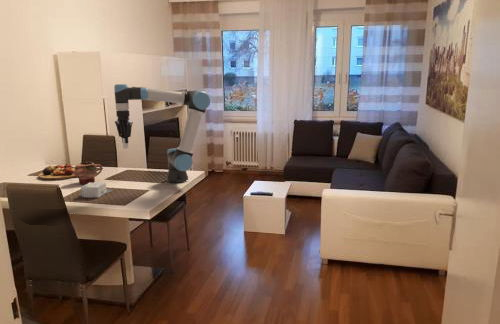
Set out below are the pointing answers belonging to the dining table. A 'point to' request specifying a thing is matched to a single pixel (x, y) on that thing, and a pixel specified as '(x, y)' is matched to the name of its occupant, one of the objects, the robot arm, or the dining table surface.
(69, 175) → the wooden plate with food
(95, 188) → the light bulb box
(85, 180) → the brown rounded vessel
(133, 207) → the dining table surface
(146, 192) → the dining table surface
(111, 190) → the mat
